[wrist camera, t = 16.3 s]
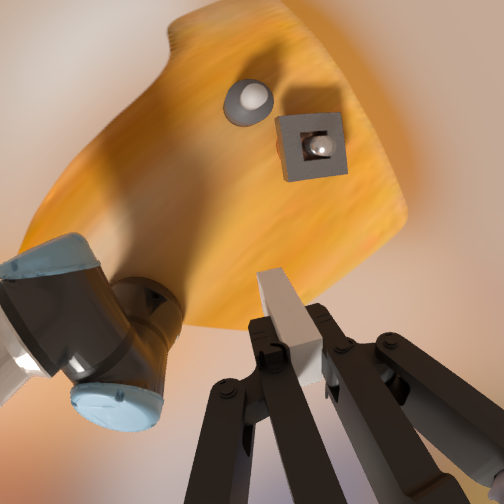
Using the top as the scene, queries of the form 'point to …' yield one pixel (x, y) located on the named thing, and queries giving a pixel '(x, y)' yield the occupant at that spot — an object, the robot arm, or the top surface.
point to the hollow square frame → (292, 147)
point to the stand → (248, 103)
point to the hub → (315, 145)
